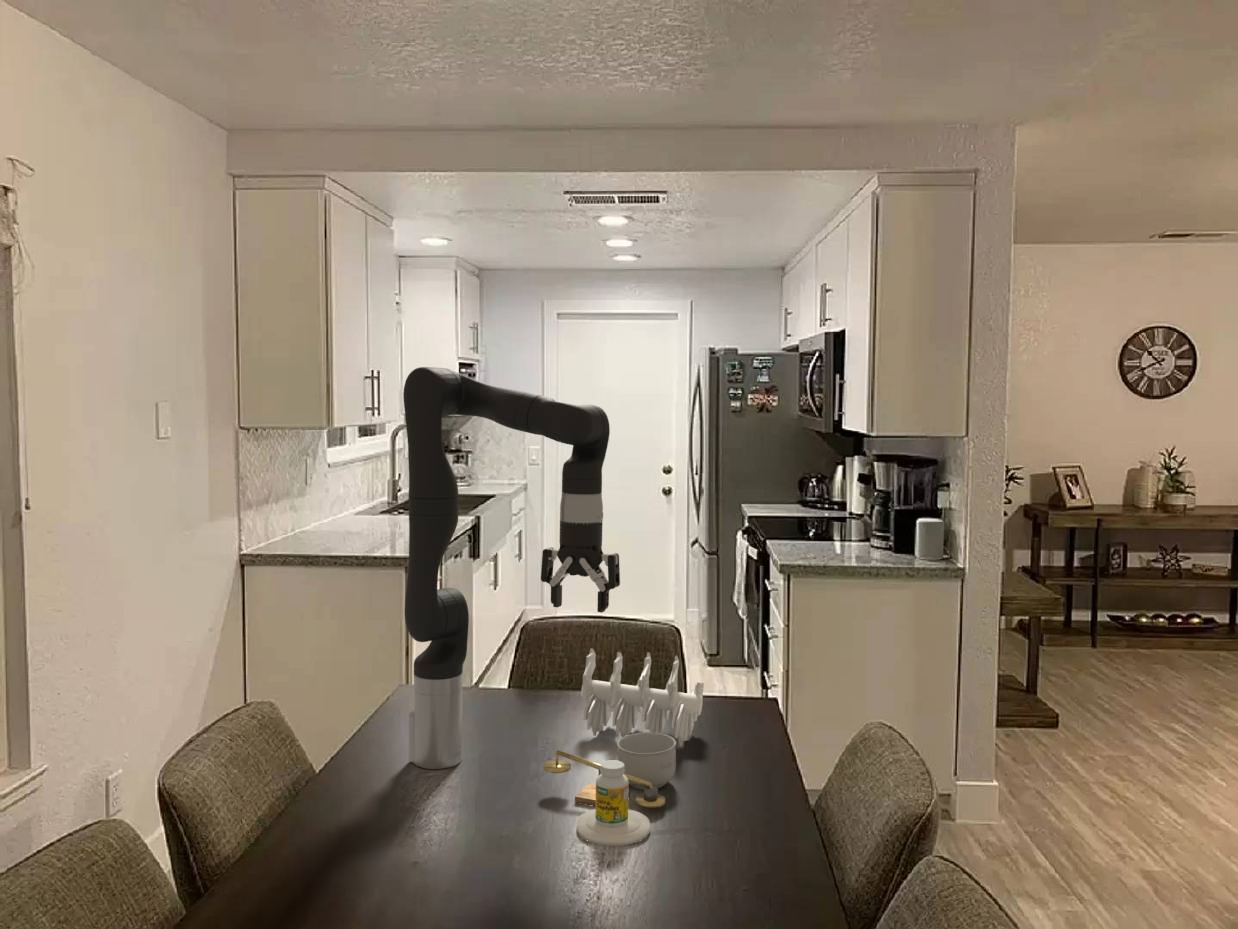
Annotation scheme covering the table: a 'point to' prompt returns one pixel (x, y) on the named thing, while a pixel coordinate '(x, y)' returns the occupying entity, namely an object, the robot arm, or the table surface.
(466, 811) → the table surface
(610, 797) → the supplement bottle
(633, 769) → the teacup
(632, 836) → the plate
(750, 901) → the table surface
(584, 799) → the balance
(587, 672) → the spiral staircase
